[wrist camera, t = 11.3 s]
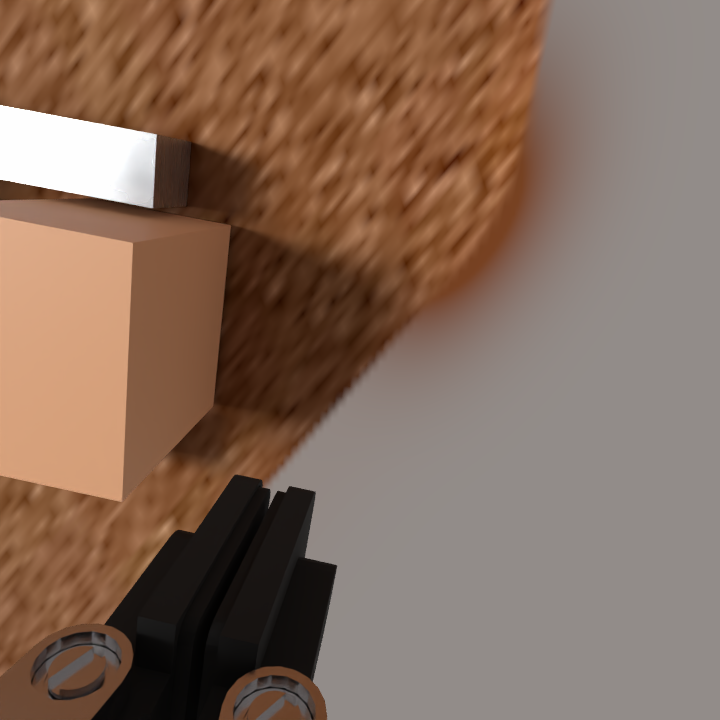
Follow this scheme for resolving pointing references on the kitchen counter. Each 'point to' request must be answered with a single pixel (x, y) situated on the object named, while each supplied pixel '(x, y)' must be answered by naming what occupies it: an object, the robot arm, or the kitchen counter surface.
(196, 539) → the robot arm
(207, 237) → the block
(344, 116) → the kitchen counter surface
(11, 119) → the u-shaped metal bracket
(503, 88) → the kitchen counter surface
